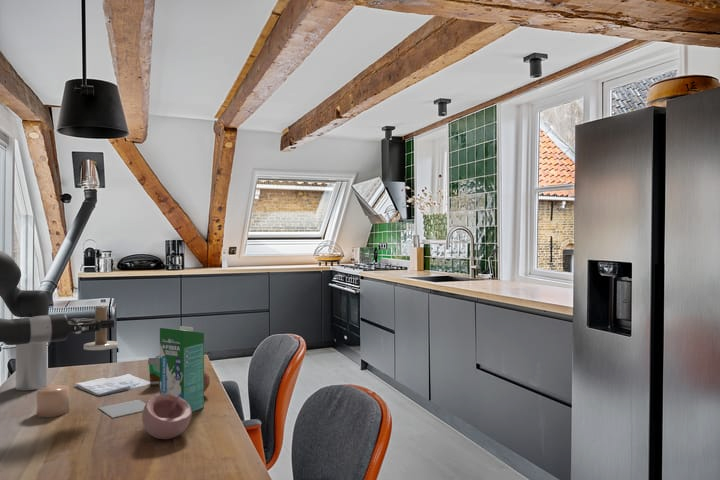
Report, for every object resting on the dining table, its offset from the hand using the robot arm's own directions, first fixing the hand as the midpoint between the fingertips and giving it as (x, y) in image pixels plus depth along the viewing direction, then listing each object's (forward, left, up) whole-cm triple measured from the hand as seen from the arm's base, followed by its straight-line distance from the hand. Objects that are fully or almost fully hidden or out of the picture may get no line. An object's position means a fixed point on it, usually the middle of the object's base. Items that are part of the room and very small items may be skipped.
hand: (111, 322), depth 163 cm
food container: (-17, +24, -26) cm, 40 cm away
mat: (+3, +3, -26) cm, 26 cm away
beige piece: (0, -3, -7) cm, 8 cm away
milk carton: (+15, +15, -26) cm, 34 cm away
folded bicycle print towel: (-26, +10, -27) cm, 39 cm away
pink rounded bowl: (+34, +2, -26) cm, 43 cm away
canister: (-8, -14, -26) cm, 30 cm away
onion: (+5, +24, -26) cm, 36 cm away
